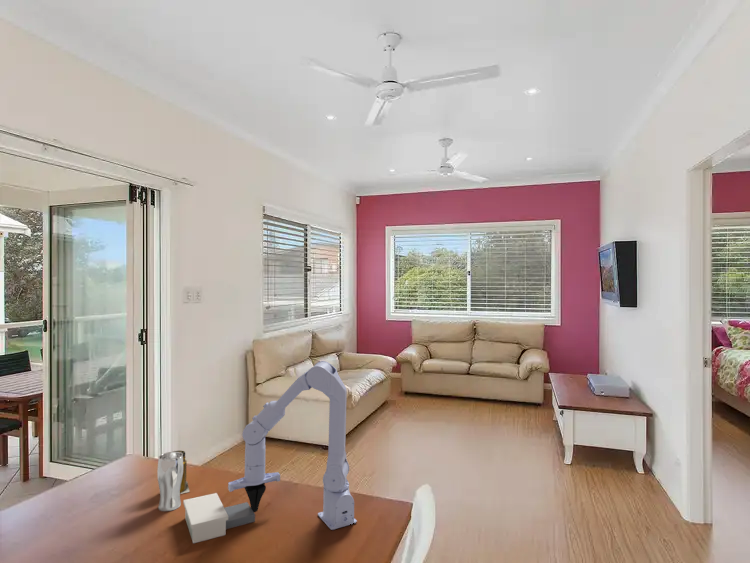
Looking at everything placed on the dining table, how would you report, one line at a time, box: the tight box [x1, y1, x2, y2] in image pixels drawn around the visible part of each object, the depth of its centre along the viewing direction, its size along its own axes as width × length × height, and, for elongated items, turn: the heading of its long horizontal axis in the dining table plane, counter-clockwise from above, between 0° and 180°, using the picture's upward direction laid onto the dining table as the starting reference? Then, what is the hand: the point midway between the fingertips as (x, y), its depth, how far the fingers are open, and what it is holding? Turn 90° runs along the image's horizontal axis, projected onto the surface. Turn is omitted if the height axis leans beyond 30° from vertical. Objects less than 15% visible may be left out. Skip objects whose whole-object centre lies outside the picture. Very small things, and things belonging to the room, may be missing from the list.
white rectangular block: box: [182, 492, 228, 544], centre depth 120 cm, size 15×9×5 cm, turn 31°
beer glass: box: [156, 451, 183, 512], centre depth 131 cm, size 7×7×15 cm
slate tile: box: [224, 501, 256, 530], centre depth 123 cm, size 8×14×2 cm, turn 121°
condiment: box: [172, 450, 190, 495], centre depth 142 cm, size 7×8×12 cm
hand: (254, 510), depth 127 cm, fingers closed
